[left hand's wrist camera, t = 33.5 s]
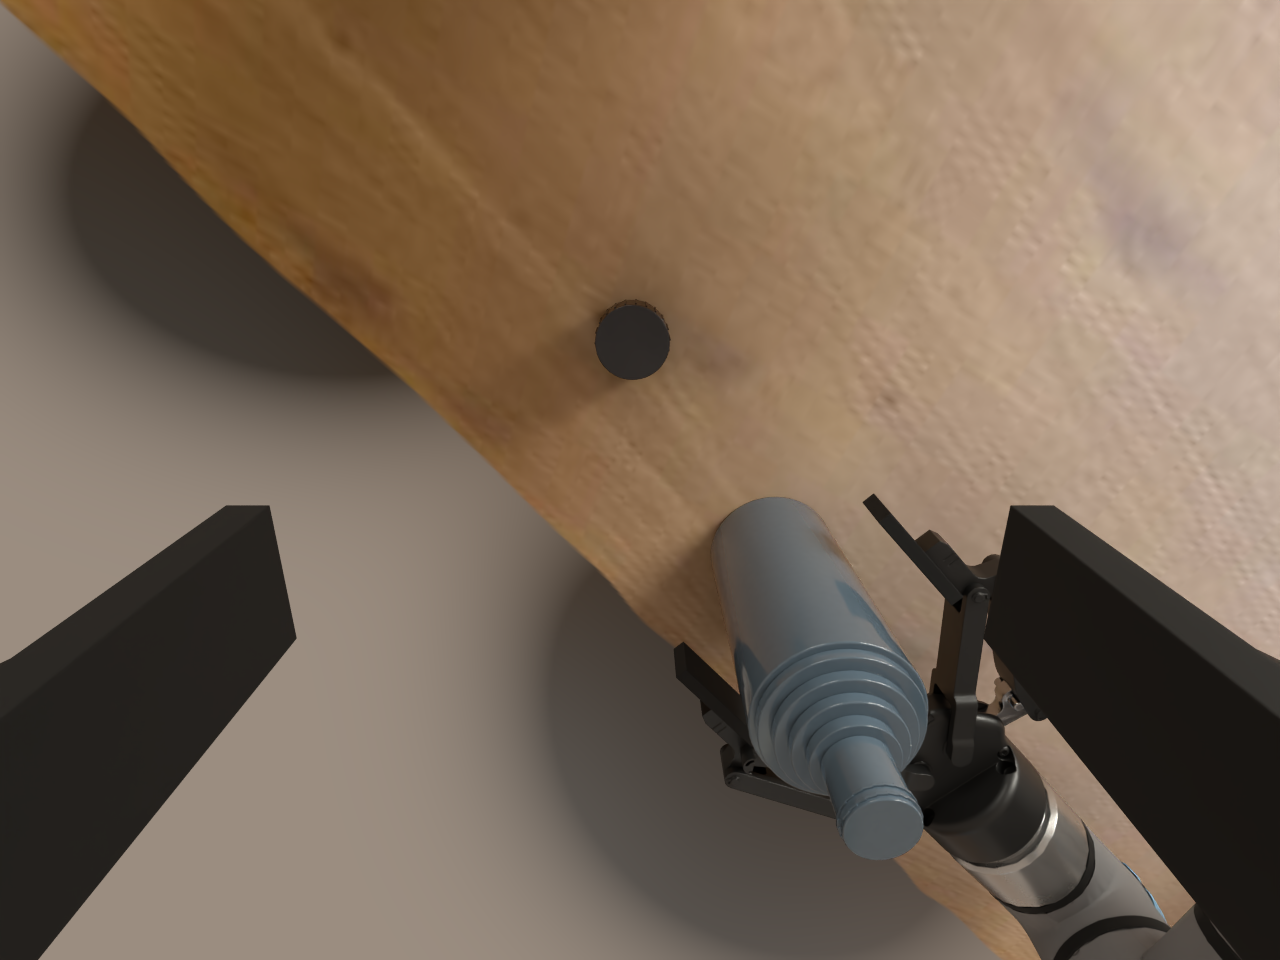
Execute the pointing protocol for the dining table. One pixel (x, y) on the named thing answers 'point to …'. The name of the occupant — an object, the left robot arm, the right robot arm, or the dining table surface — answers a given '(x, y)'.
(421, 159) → the dining table surface
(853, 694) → the bottle
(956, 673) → the right robot arm
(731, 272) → the dining table surface
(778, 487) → the dining table surface
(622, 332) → the cap
